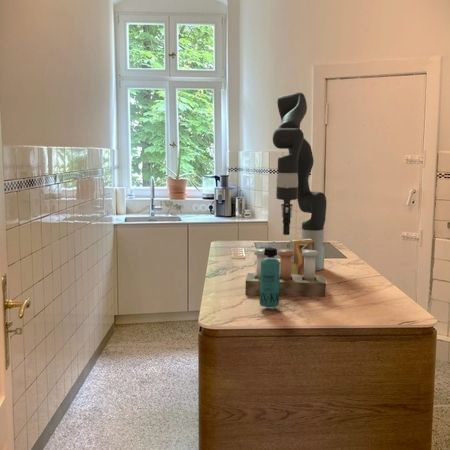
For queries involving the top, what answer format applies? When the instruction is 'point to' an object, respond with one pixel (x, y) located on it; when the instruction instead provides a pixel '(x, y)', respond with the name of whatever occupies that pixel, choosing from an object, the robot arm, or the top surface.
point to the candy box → (299, 254)
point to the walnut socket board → (291, 286)
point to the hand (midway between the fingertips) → (286, 233)
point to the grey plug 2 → (309, 264)
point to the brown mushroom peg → (285, 263)
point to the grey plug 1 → (259, 260)
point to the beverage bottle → (269, 279)
